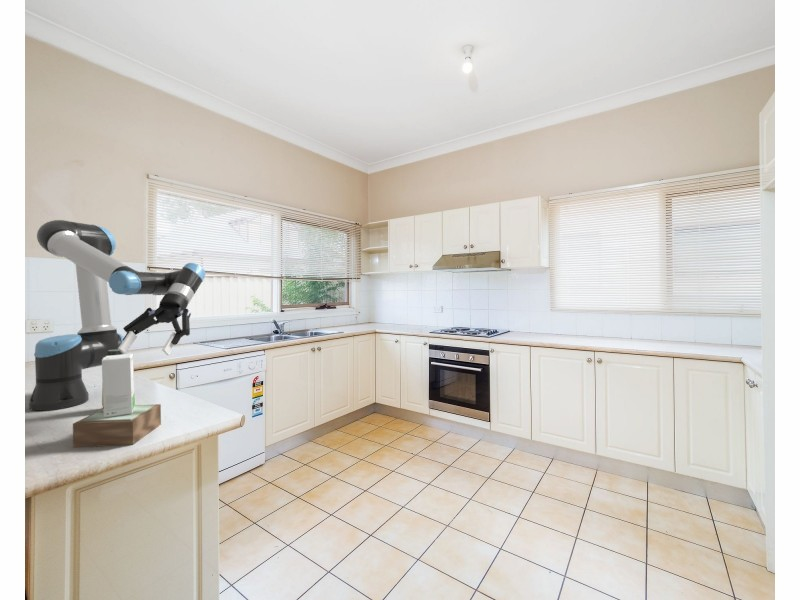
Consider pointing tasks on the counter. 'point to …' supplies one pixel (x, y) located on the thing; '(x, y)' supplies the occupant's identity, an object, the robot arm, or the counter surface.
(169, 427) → the counter surface
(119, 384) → the skincare box
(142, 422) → the riser
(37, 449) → the counter surface
